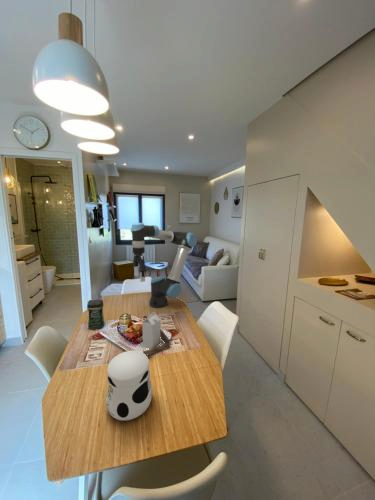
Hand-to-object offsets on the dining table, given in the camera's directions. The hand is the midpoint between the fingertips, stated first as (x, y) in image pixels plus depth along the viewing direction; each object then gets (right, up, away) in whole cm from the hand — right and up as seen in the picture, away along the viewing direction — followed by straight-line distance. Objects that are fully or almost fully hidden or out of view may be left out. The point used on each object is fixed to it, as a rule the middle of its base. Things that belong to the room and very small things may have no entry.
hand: (139, 278), depth 135 cm
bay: (+11, -36, -18) cm, 42 cm away
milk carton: (+11, -36, -18) cm, 42 cm away
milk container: (+9, -42, -54) cm, 69 cm away
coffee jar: (-28, -32, 0) cm, 43 cm away
